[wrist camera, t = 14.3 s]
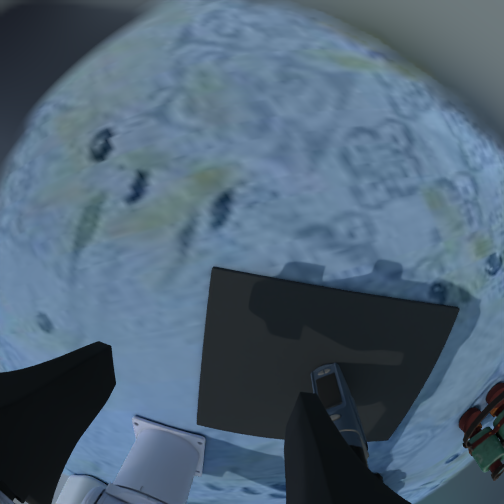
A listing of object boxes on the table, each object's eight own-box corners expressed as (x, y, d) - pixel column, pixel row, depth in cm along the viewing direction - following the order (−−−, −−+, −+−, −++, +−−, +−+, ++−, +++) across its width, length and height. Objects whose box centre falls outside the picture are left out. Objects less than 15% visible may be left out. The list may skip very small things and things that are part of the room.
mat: (387, 437, 21) (387, 440, 21) (197, 421, 22) (196, 424, 22) (457, 306, 18) (459, 308, 17) (213, 266, 18) (211, 267, 18)
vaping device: (336, 355, 19) (374, 493, 7) (354, 397, 20) (386, 515, 8) (305, 368, 19) (318, 509, 8) (326, 408, 20) (343, 528, 8)
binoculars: (545, 410, 9) (541, 441, 9) (499, 364, 19) (508, 401, 19) (477, 474, 11) (486, 491, 11) (444, 415, 21) (461, 442, 21)
